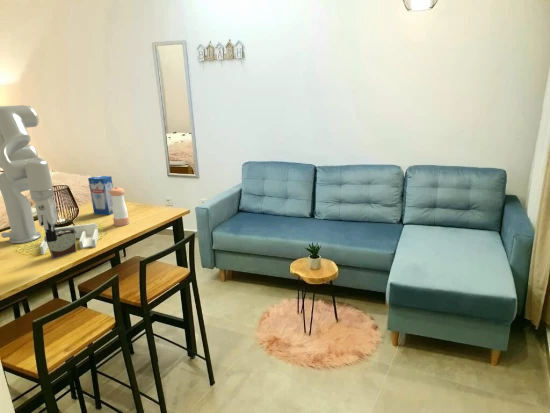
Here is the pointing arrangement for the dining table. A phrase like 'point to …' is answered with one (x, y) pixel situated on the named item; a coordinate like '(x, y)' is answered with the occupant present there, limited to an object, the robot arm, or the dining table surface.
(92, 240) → the rack
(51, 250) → the food container
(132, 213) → the dining table surface
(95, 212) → the milk carton
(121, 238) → the dining table surface
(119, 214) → the pepper shaker
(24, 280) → the dining table surface
